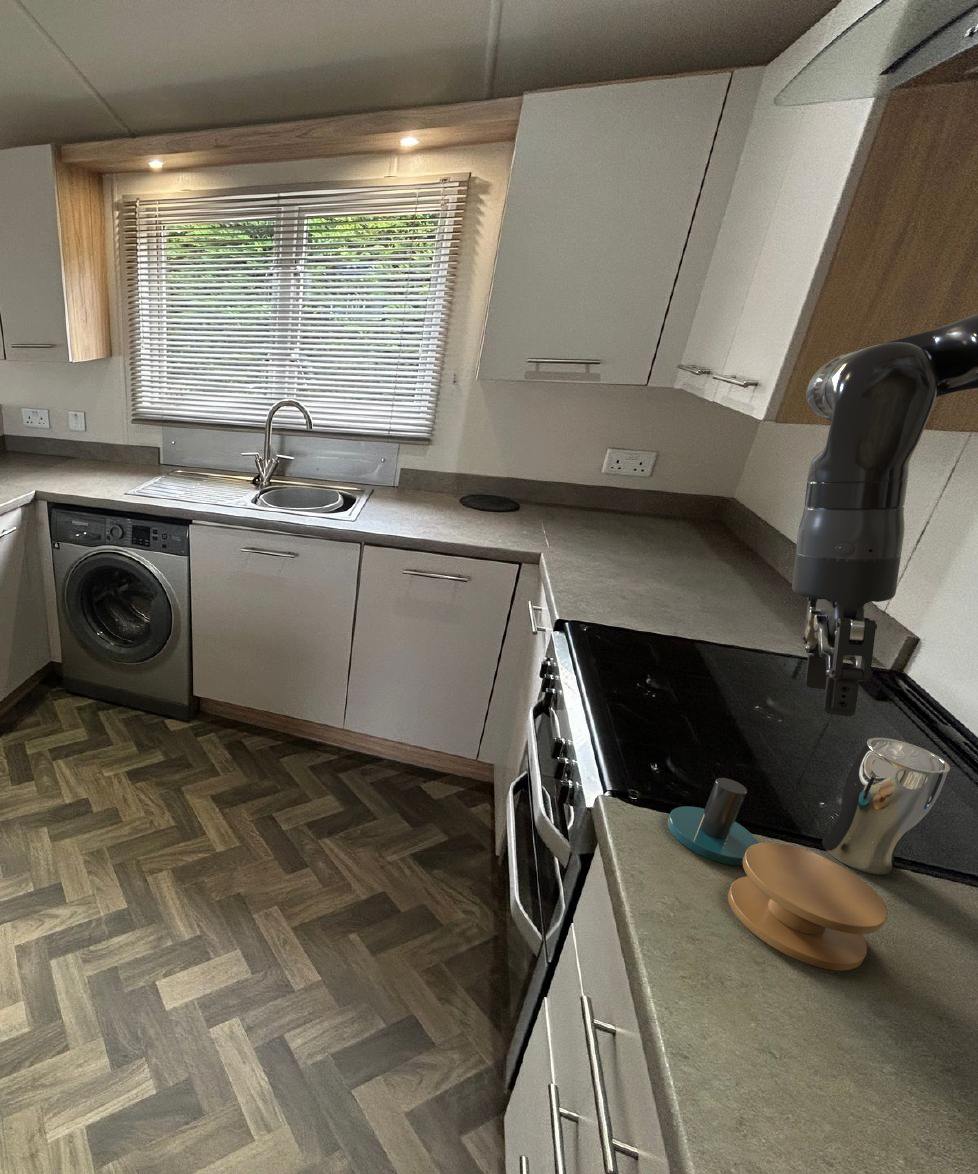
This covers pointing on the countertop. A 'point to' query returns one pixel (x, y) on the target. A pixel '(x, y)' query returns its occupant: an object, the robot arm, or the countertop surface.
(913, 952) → the countertop surface
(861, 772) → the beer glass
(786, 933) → the stand
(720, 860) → the disc
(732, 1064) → the countertop surface
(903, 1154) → the countertop surface
